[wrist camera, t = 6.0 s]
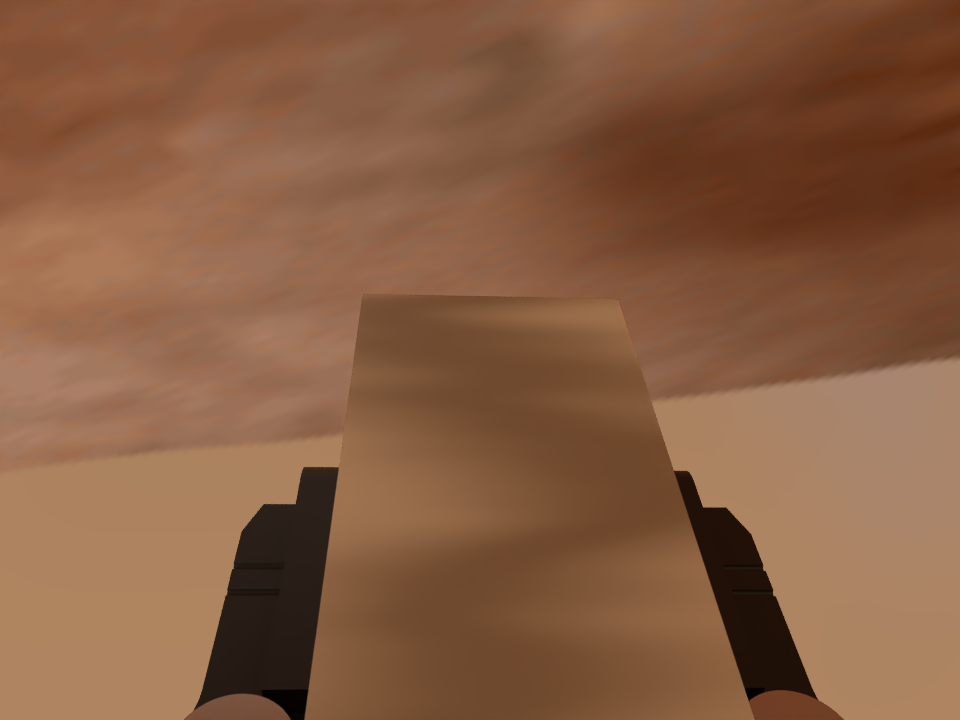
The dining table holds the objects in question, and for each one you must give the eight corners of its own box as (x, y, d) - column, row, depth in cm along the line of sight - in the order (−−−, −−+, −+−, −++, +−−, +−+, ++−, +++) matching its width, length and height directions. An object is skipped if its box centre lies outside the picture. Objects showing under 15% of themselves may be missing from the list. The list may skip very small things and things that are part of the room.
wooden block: (617, 298, 14) (872, 1080, 6) (588, 487, 16) (742, 1241, 8) (363, 294, 14) (252, 1098, 6) (369, 485, 16) (297, 1259, 8)
